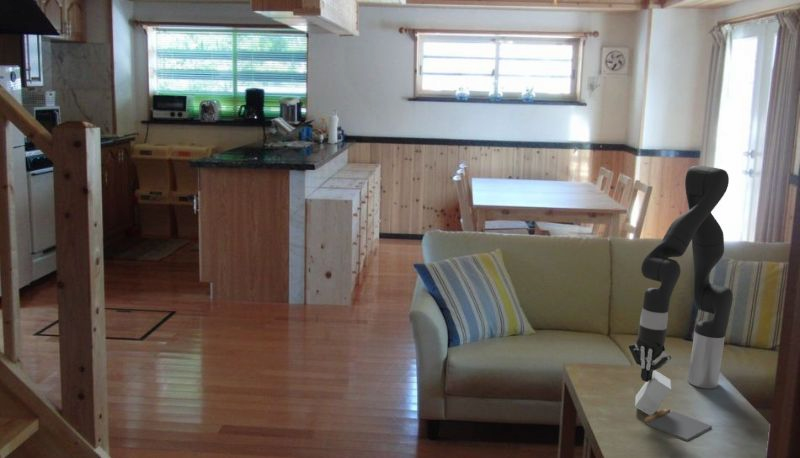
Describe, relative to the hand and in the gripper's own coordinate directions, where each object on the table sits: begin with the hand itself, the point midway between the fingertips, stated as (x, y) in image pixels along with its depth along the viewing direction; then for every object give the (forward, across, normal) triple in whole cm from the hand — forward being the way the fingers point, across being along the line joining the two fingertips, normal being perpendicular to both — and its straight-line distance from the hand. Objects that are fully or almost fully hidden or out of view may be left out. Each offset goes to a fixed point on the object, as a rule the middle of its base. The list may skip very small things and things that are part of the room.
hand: (645, 380), depth 224 cm
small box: (+9, 0, -1) cm, 9 cm away
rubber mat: (+10, -12, 0) cm, 15 cm away
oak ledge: (+10, -5, 0) cm, 11 cm away
